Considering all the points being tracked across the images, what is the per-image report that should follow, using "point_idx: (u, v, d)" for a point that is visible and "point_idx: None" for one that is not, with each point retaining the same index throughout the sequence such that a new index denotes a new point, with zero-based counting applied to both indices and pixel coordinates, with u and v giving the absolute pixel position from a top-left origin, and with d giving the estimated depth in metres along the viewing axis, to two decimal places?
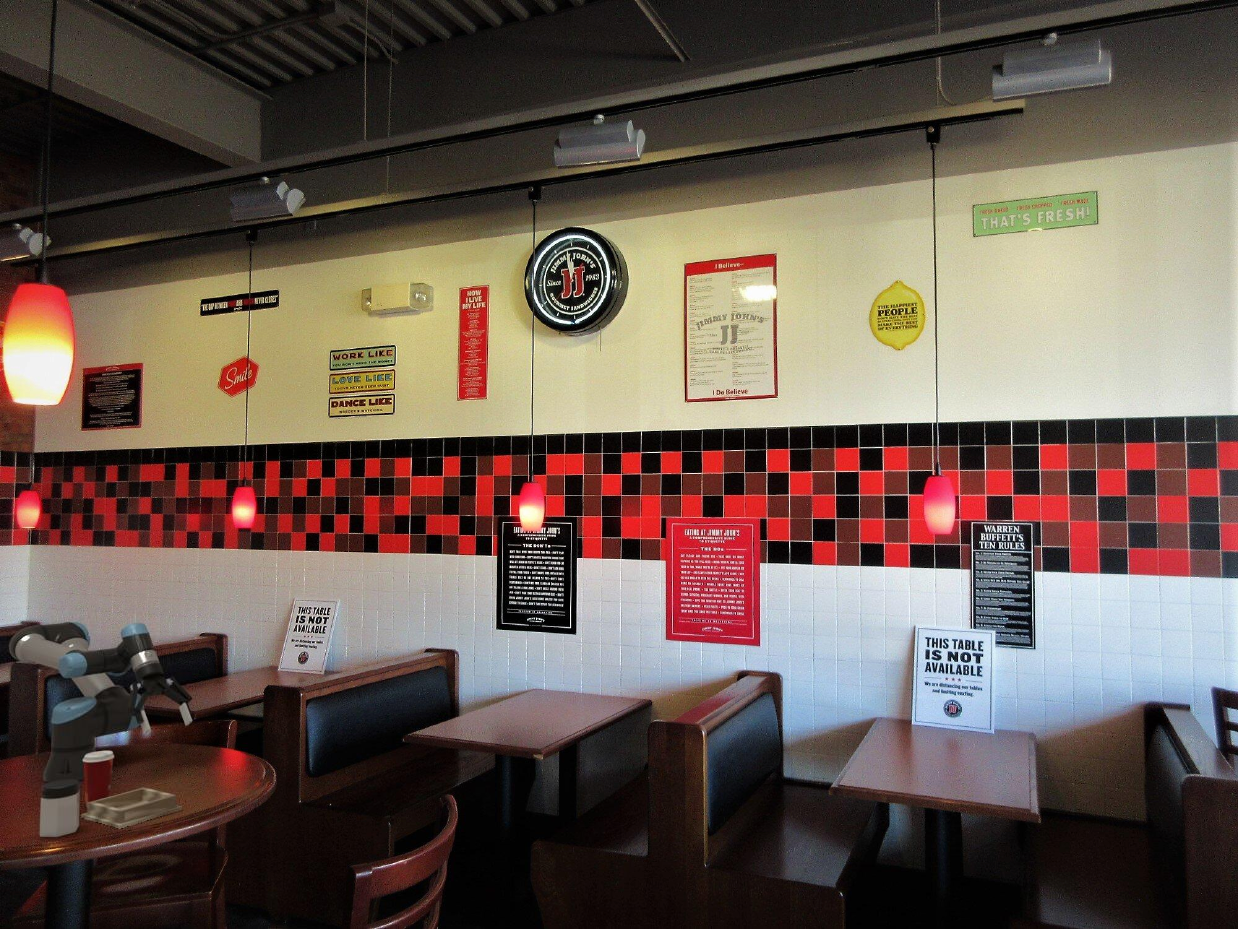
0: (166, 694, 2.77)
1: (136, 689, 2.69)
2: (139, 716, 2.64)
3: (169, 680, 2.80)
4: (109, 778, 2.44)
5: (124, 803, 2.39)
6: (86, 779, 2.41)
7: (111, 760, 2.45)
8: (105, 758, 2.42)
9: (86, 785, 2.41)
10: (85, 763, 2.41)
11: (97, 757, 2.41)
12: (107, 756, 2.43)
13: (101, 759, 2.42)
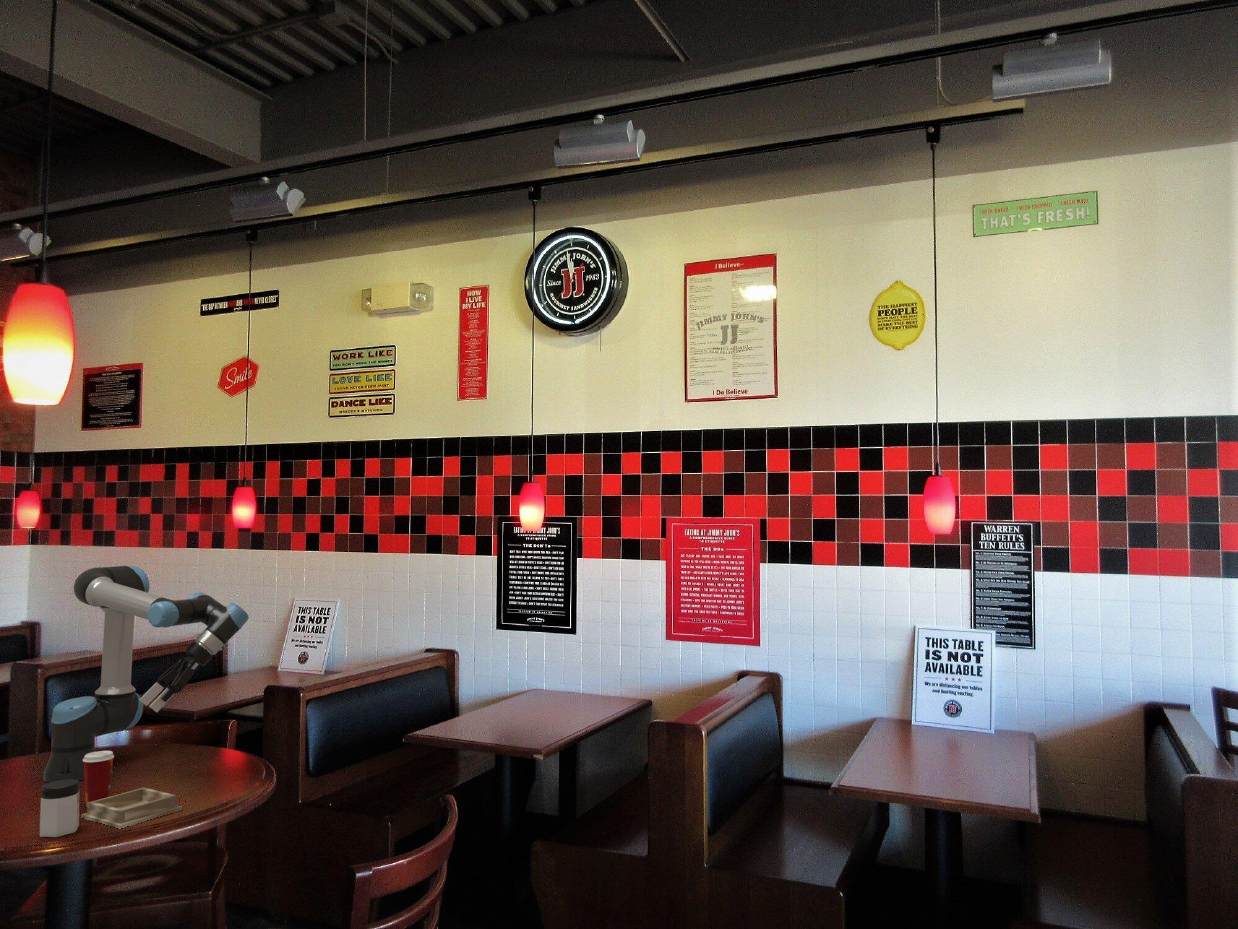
0: (174, 672, 2.61)
1: None
2: (170, 697, 2.50)
3: None
4: (109, 778, 2.44)
5: (124, 803, 2.39)
6: (86, 779, 2.41)
7: (111, 760, 2.45)
8: (105, 758, 2.42)
9: (86, 785, 2.41)
10: (85, 763, 2.41)
11: (97, 757, 2.41)
12: (107, 756, 2.43)
13: (101, 759, 2.42)
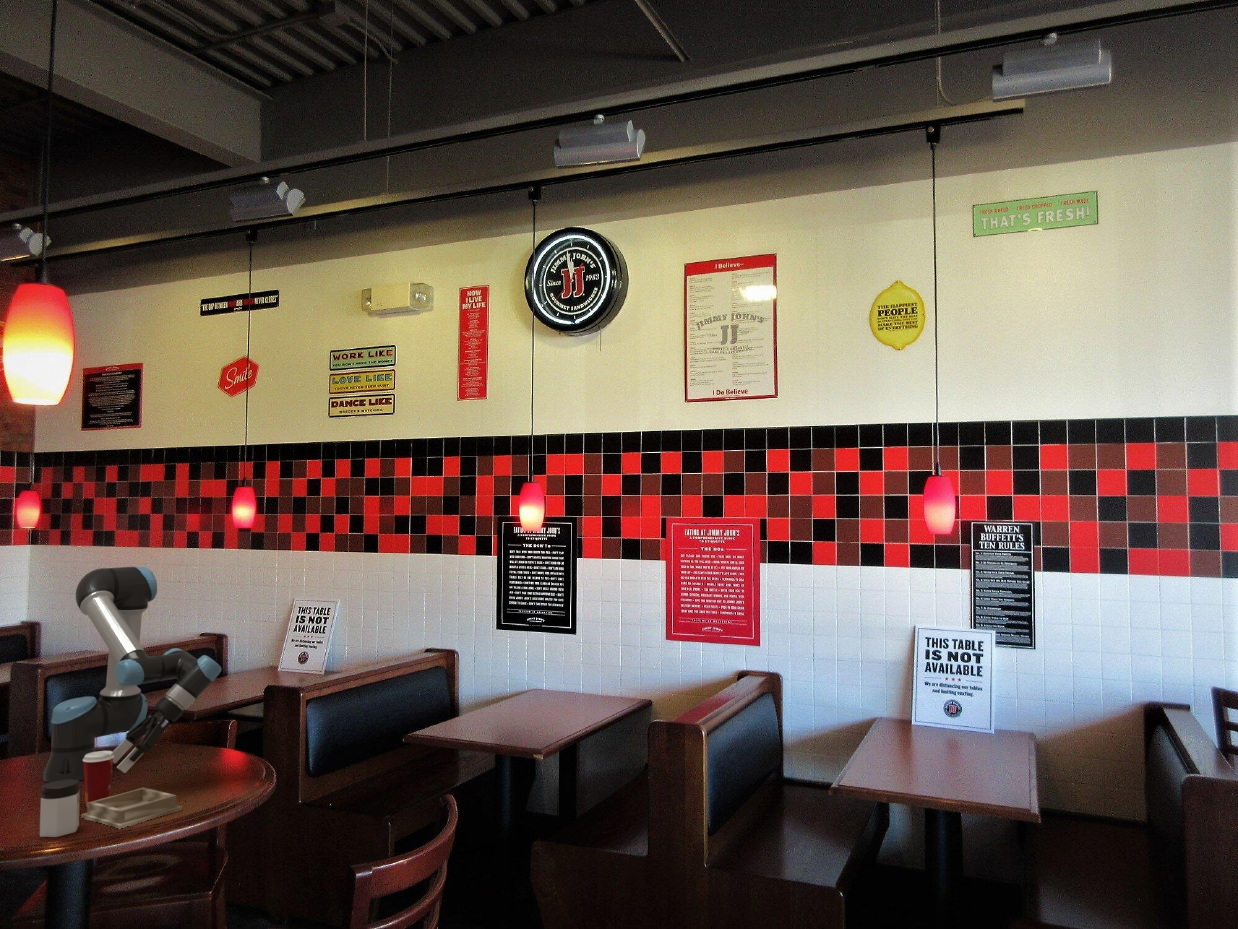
0: (143, 728, 2.54)
1: None
2: (138, 756, 2.42)
3: None
4: (109, 778, 2.44)
5: (124, 803, 2.39)
6: (86, 779, 2.41)
7: (111, 760, 2.45)
8: (105, 758, 2.42)
9: (86, 785, 2.41)
10: (85, 763, 2.41)
11: (97, 757, 2.41)
12: (107, 756, 2.43)
13: (101, 759, 2.42)
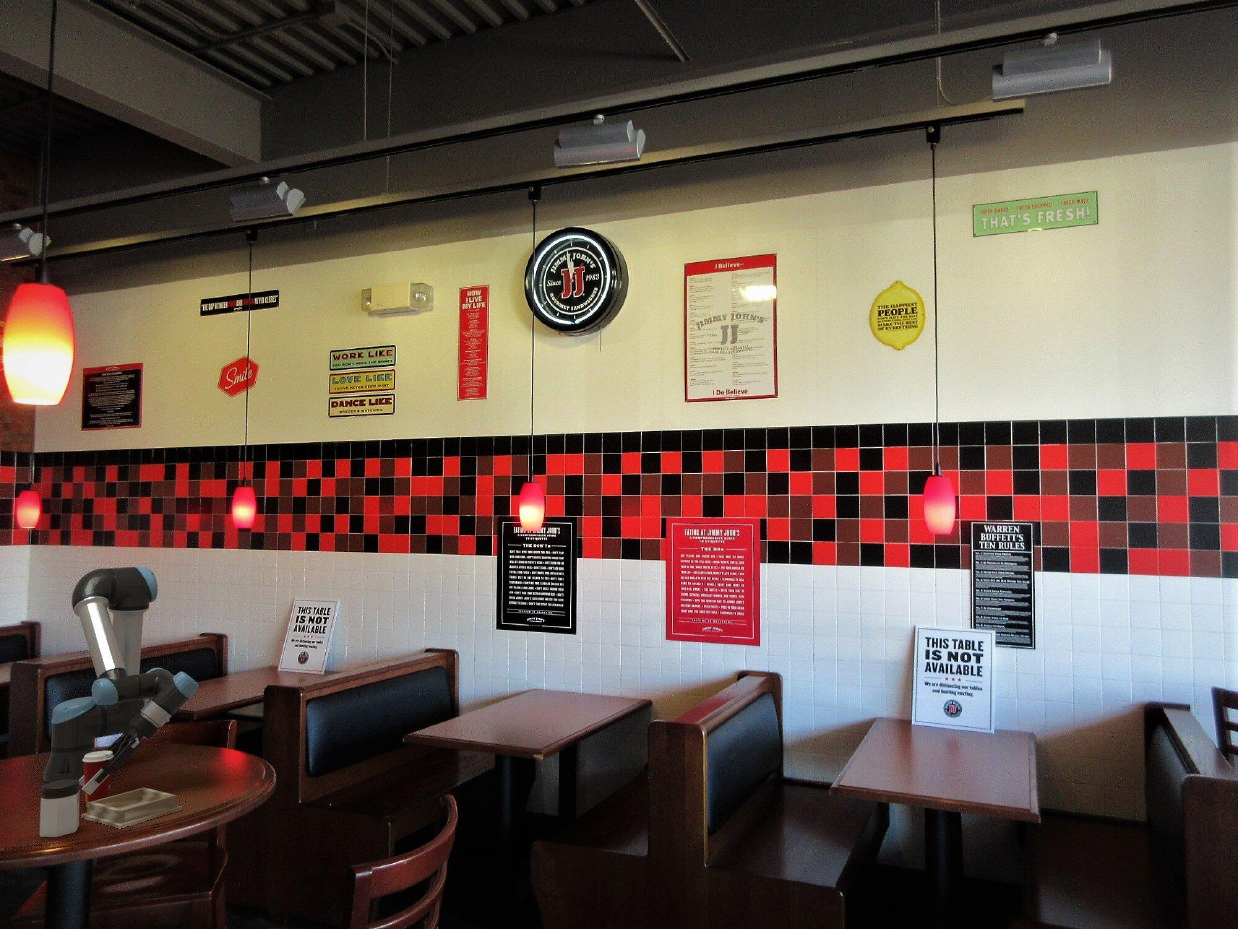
0: (117, 748, 2.49)
1: None
2: None
3: None
4: (109, 778, 2.44)
5: (124, 803, 2.39)
6: (86, 779, 2.41)
7: None
8: (105, 758, 2.43)
9: None
10: (85, 763, 2.41)
11: (97, 757, 2.41)
12: (107, 756, 2.43)
13: (101, 759, 2.42)
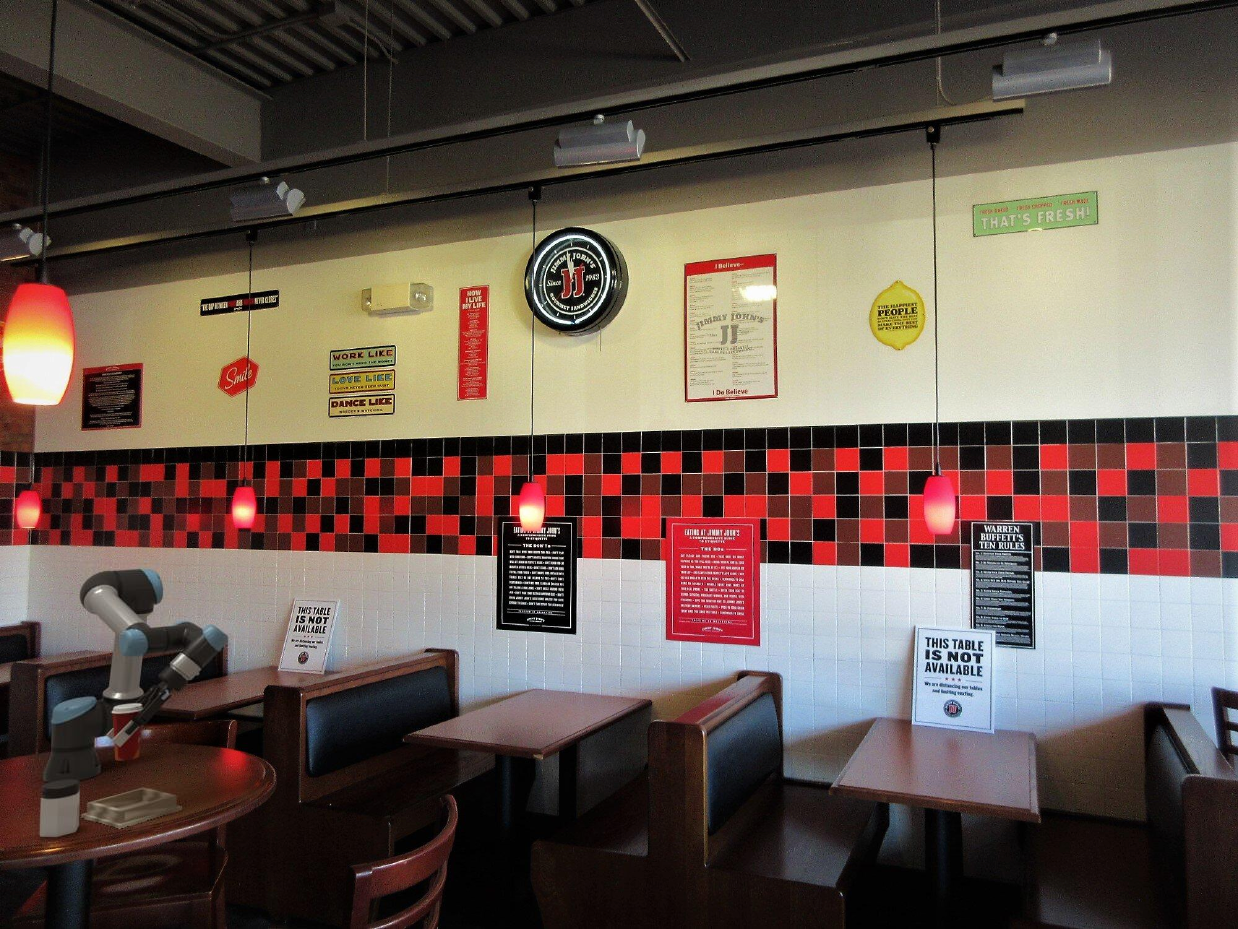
0: (146, 701, 2.43)
1: None
2: (134, 730, 2.34)
3: None
4: (139, 730, 2.38)
5: (124, 803, 2.39)
6: (115, 731, 2.35)
7: None
8: (135, 710, 2.36)
9: None
10: (114, 715, 2.35)
11: (126, 708, 2.35)
12: (136, 708, 2.37)
13: (131, 710, 2.35)
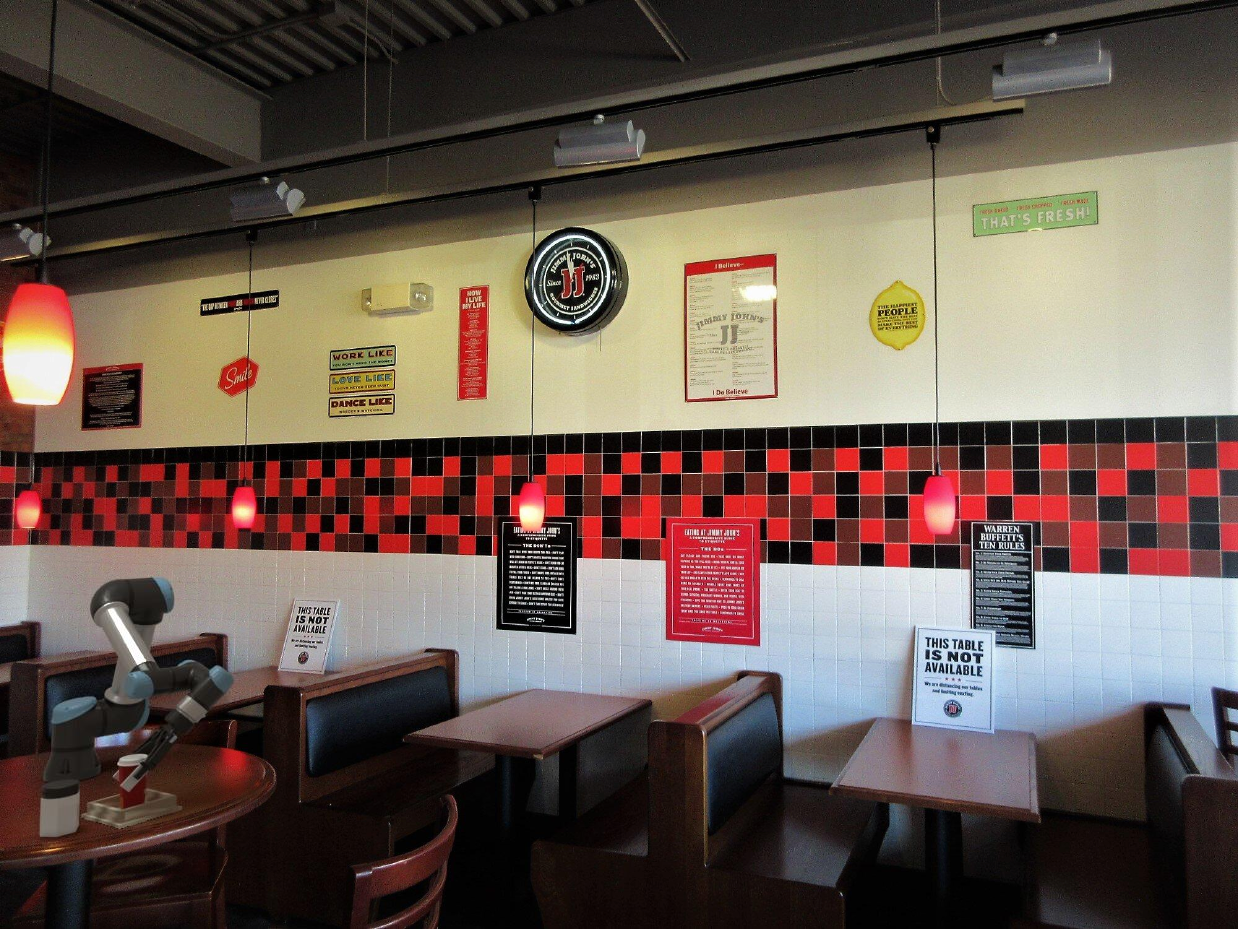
0: (152, 743, 2.41)
1: None
2: (143, 774, 2.31)
3: None
4: (144, 782, 2.36)
5: None
6: (121, 783, 2.33)
7: None
8: None
9: (121, 790, 2.33)
10: (120, 767, 2.33)
11: (132, 761, 2.33)
12: (142, 760, 2.35)
13: (136, 763, 2.33)
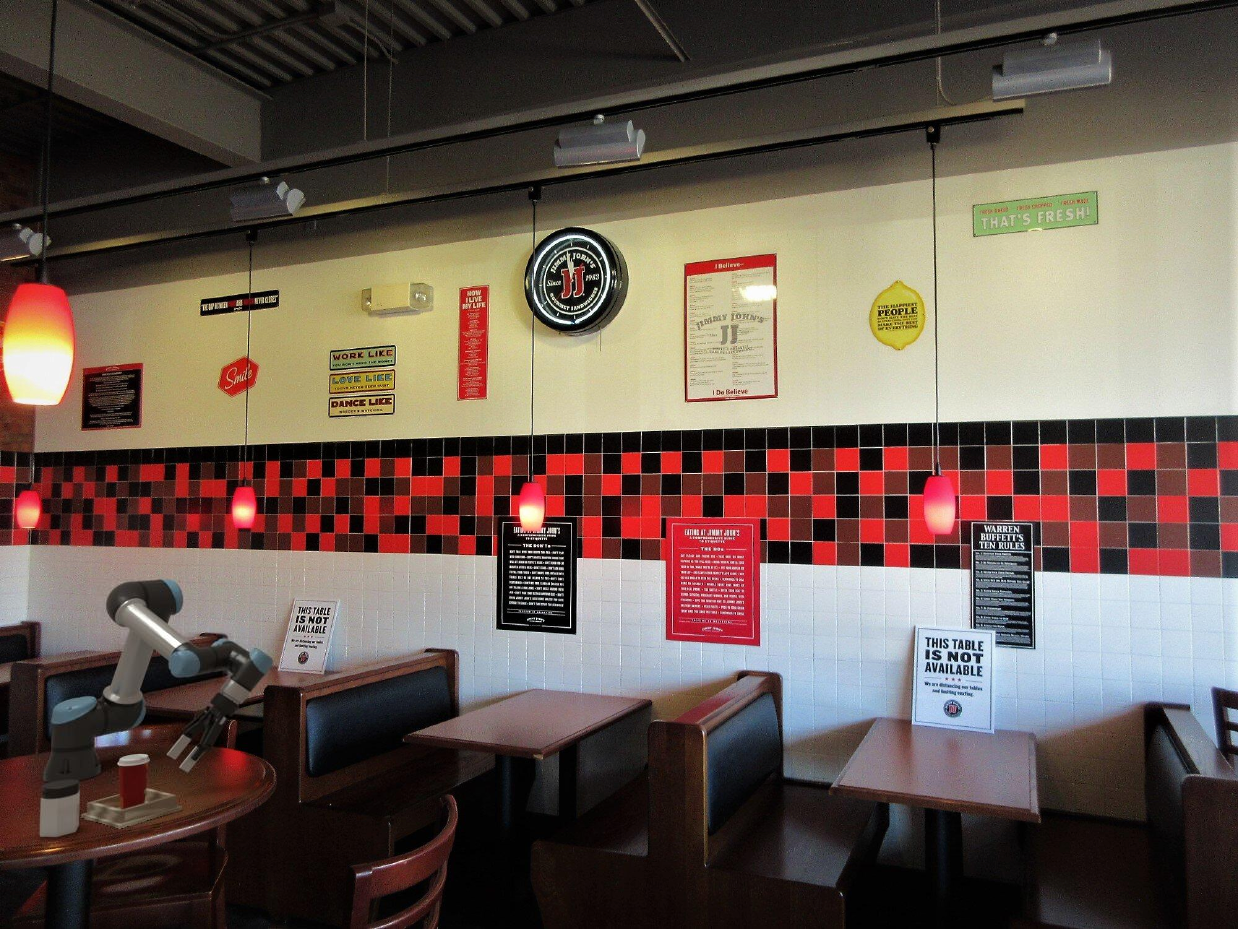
0: (200, 724, 2.52)
1: None
2: None
3: None
4: (145, 782, 2.36)
5: None
6: (121, 783, 2.33)
7: (147, 764, 2.36)
8: (141, 762, 2.34)
9: (121, 790, 2.33)
10: (120, 767, 2.33)
11: (133, 761, 2.33)
12: (143, 760, 2.35)
13: (137, 763, 2.33)
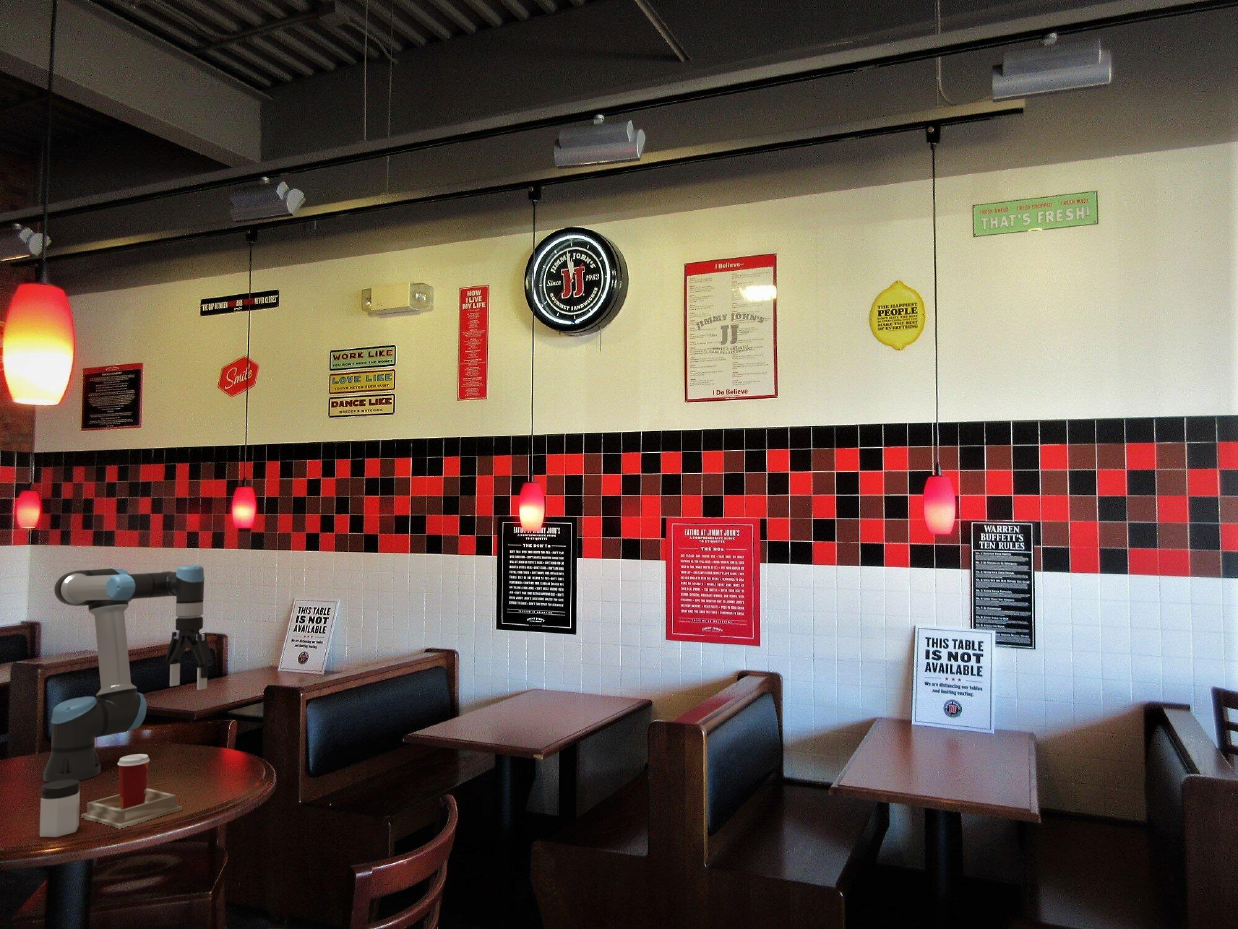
0: (180, 649, 2.66)
1: None
2: None
3: None
4: (145, 782, 2.36)
5: None
6: (121, 783, 2.33)
7: (147, 764, 2.36)
8: (141, 762, 2.34)
9: (121, 790, 2.33)
10: (120, 767, 2.33)
11: (133, 761, 2.33)
12: (143, 760, 2.35)
13: (137, 763, 2.33)
